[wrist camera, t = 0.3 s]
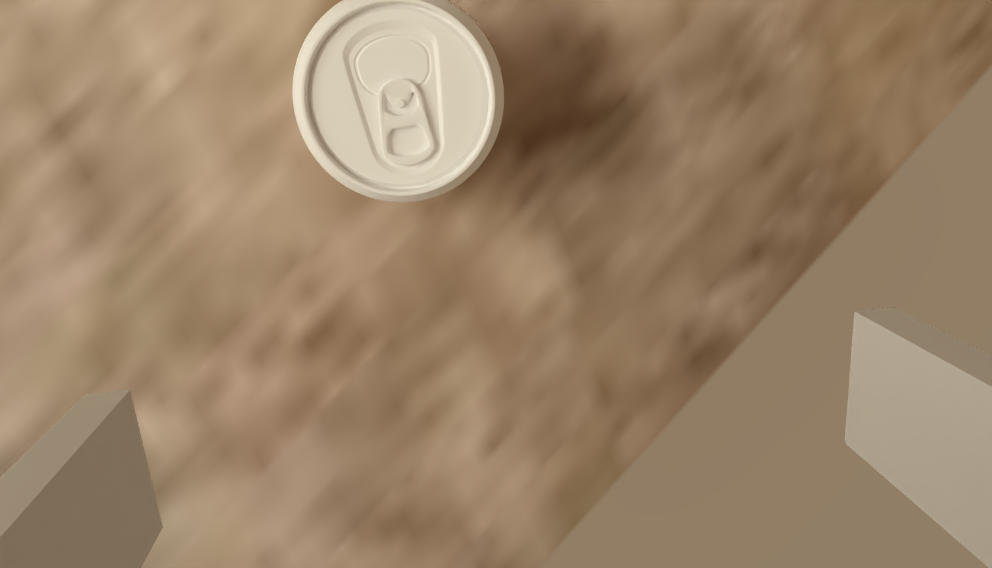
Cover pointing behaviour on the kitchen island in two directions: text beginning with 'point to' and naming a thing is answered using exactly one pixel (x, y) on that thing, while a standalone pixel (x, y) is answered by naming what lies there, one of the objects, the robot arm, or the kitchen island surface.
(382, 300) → the kitchen island surface
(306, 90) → the beverage can
